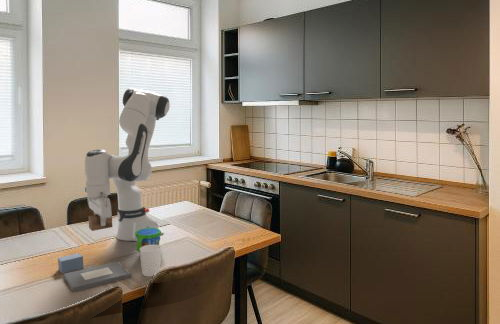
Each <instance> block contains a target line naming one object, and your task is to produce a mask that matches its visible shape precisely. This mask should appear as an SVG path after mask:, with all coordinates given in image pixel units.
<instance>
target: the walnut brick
mask: <svg viewBox="0 0 500 324" xmlns="http://www.w3.org/2000/svg"><path fill="white" fill-rule="evenodd" d="M105 222H106V225H105V226H101V225H100V216H99V215H95V214H93V215H88V228H89V230H90V231H92V232H93V231H94V232H95V231H98V230H104V229H110V228H113V216H111V217H110V218H106V221H105Z"/></svg>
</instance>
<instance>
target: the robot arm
mask: <svg viewBox="0 0 500 324" xmlns="http://www.w3.org/2000/svg"><path fill="white" fill-rule="evenodd" d="M122 104H123V106H124V107H123V109H122V111H121V113H120V115H119V119H118V123H119V126H120V128H121V129H122V131H124V132H125V134H127V136H126V139H125V146H126V147H127V148H128V154H127V155H125V156H122V155H120V156H119V155H113V154H110V153H109V152H107V151H106V150H105V149H99V148H98V149H93V150H90V151H87V153H86V155H85V157H84V158H85V159H84V173H85V174H84V175H85V177H86V182H85V187H84V192H85V193H86V197H87V204H88V208H89V209H91V211H93V215H99V216H100V225H101V226H105V225H106V222H105V221H106V218H110V217H111V216H112V215H113V214H112V213H113V212H112V204H111V200H110V198H109V197H108V196H109V195H110V194H111V184H110V179H112V182H113V183H114V186H115V189H116V193H117V204H118V207H117V213H116V214H117V220H118V222H117V223H118V225H117V232H116V236H115V238H116V239H117V240H119V241H127V242H128V241H129V242H131V241H132V242H137V237H136V235H135V233H136V231H138V230H140V229H144V228H157V229H160V230H161V235H163V234H164V230H163V229H162V228H161V227H159V223H158V221H157V220H156V219H155V218H153V216H150V215H149V214H147V213H150V209H149V208H148V207H144V206H143V197H142V196H143V195H142V191H141V189H140V188H139V187H138V185H137V182H143V181H144V182H145V181H147V180H148V179H150V177H151V176H152V172H153V168H152V164H151V163H150V161H149V148H150V144H151V141H152V138H153V135H154V132H155V128H156V122H157V121H160V119H162V118H164V117H166V116H167V114H168V112H169V110H170V106H171V105H170V100H169V98H168V97H166V96H164V95H163V94H162V95H161V94H158V93H156V92H153V91H149V90H143V89H137V88H136V87H135V88H134V87H129V88H127V89H126V90H125V91H124V93H123V96H122ZM112 217H113V216H112ZM161 235H160V236H161Z"/></svg>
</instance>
